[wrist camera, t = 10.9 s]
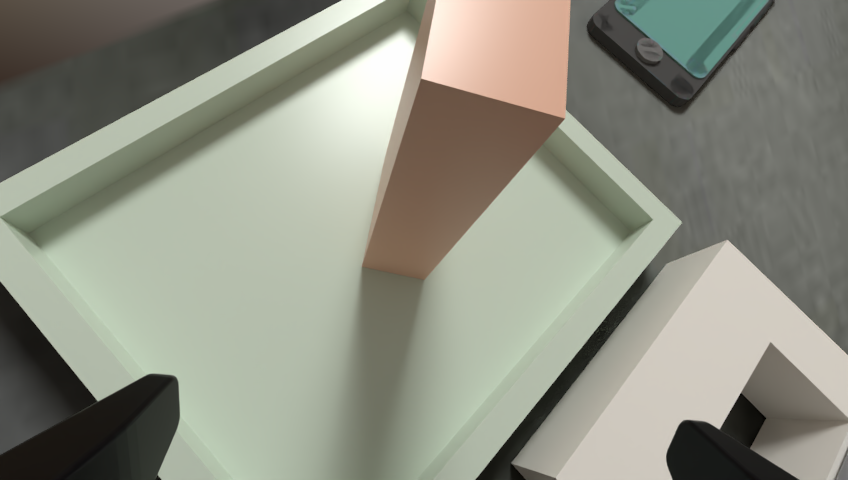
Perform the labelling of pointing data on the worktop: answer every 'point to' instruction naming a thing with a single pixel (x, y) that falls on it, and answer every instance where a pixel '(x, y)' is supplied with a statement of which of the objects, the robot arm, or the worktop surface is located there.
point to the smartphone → (674, 38)
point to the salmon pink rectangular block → (466, 123)
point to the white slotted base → (700, 379)
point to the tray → (316, 266)
